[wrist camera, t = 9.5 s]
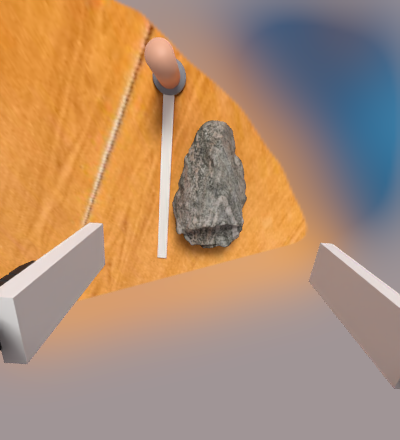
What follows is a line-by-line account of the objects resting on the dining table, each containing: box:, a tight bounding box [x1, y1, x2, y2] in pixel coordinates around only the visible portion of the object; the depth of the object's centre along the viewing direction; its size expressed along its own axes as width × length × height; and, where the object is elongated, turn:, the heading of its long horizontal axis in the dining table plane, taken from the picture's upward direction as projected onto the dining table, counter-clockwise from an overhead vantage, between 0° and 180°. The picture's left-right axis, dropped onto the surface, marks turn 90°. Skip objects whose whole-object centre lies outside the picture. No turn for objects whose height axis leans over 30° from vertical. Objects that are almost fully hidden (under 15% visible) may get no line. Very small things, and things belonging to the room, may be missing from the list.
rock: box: [173, 121, 247, 248], centre depth 32 cm, size 18×10×10 cm
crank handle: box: [145, 37, 186, 258], centre depth 30 cm, size 4×30×8 cm, turn 175°
